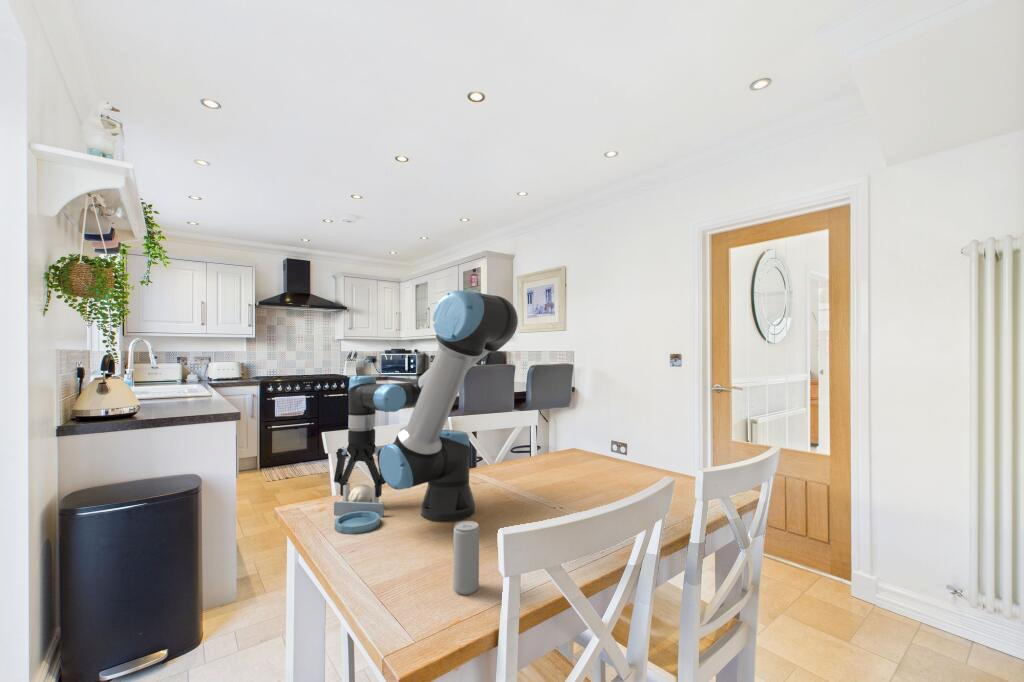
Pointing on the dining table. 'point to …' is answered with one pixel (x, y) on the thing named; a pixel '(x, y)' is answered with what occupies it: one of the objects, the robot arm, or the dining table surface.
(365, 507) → the panel
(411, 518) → the dining table surface
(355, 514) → the saucer
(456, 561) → the beverage can
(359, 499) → the cream creased ball
